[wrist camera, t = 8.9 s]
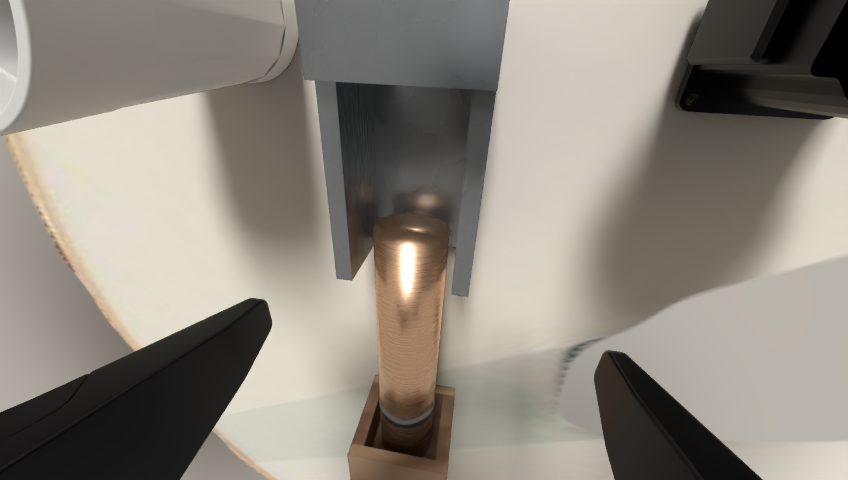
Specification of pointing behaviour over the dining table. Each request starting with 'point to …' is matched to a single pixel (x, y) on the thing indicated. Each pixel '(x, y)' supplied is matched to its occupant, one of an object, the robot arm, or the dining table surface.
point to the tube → (409, 325)
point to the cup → (132, 53)
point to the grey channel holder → (403, 114)
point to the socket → (395, 472)
